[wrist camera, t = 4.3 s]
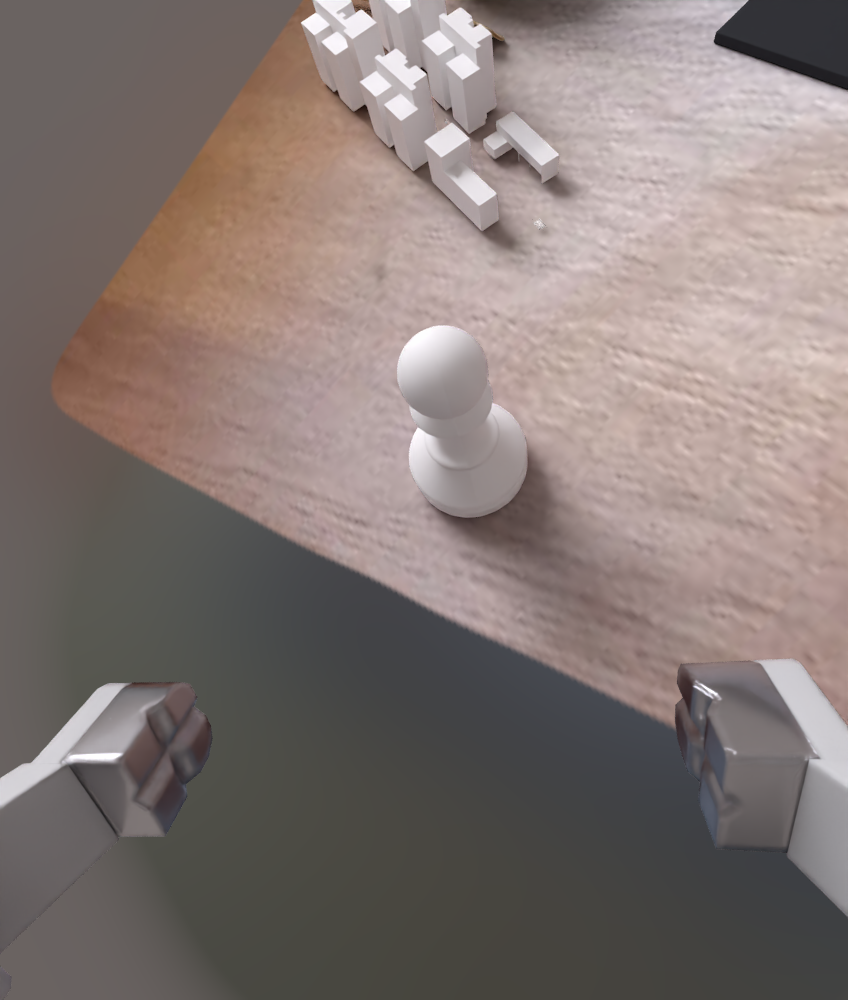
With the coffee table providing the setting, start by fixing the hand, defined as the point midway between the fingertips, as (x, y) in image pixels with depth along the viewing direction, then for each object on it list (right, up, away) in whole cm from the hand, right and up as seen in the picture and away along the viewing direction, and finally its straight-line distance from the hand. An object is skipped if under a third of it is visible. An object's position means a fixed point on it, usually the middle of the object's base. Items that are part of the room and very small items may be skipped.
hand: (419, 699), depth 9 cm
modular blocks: (+1, +26, +22) cm, 34 cm away
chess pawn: (+2, +5, +15) cm, 16 cm away
